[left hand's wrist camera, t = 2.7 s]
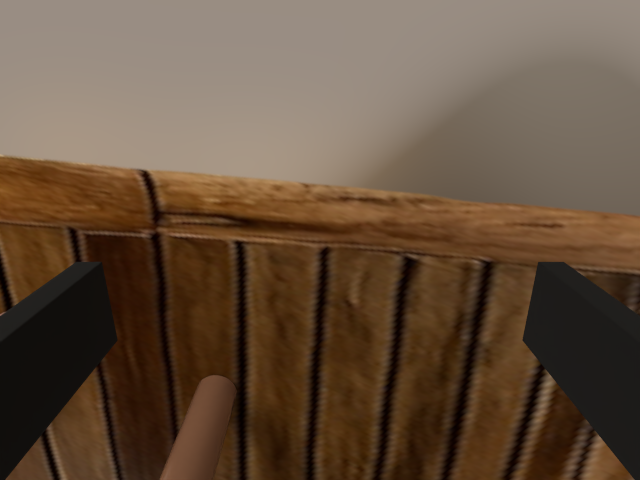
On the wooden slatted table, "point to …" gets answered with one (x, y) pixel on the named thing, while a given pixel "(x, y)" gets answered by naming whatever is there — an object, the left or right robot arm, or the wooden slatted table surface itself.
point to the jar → (202, 431)
